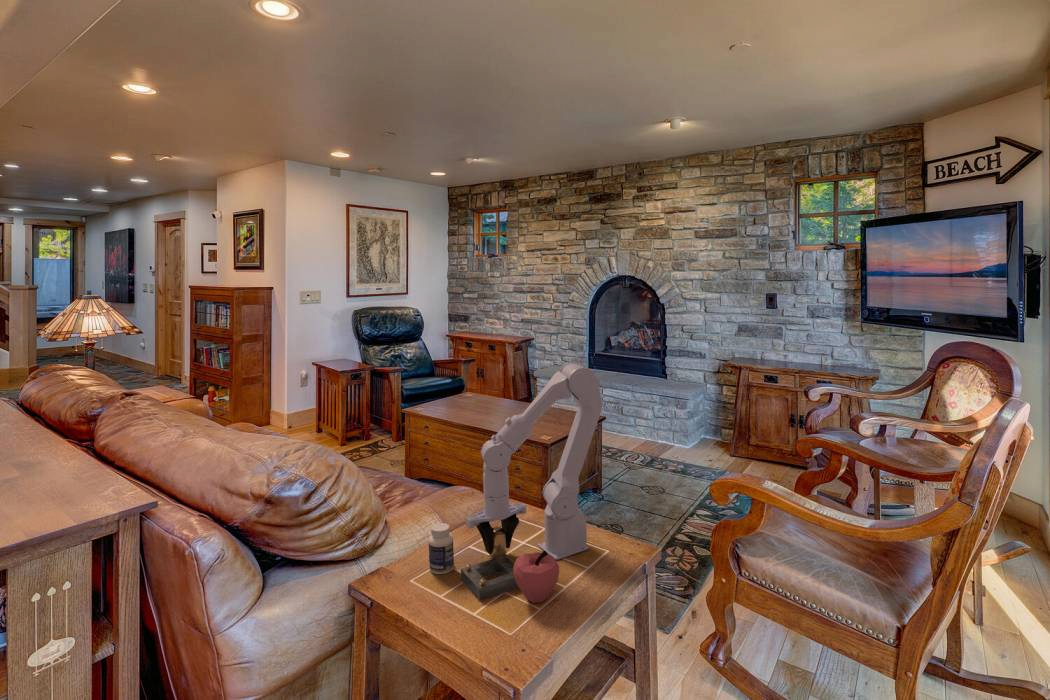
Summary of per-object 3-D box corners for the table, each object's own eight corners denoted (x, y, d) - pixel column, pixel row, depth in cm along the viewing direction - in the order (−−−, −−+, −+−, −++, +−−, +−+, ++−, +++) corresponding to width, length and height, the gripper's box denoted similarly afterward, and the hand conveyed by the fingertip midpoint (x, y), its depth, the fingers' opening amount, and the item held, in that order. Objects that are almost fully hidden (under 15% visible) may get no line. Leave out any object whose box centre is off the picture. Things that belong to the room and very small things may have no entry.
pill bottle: (449, 576, 119) (447, 533, 118) (425, 573, 120) (424, 531, 119) (457, 563, 125) (455, 522, 123) (434, 561, 126) (433, 520, 124)
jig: (504, 565, 123) (504, 551, 123) (525, 584, 116) (524, 569, 115) (461, 579, 118) (460, 564, 117) (479, 600, 110) (479, 584, 110)
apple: (532, 581, 117) (531, 536, 116) (567, 594, 112) (567, 547, 111) (505, 603, 109) (503, 556, 108) (541, 618, 104) (541, 569, 103)
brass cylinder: (501, 550, 130) (500, 524, 129) (509, 557, 127) (509, 531, 126) (486, 554, 128) (485, 528, 127) (494, 562, 125) (493, 535, 124)
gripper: (515, 480, 132) (516, 534, 134) (459, 494, 125) (461, 550, 127) (530, 490, 126) (531, 546, 128) (473, 504, 119) (474, 563, 121)
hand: (497, 549), depth 127 cm, fingers closed on brass cylinder, 4 cm apart
